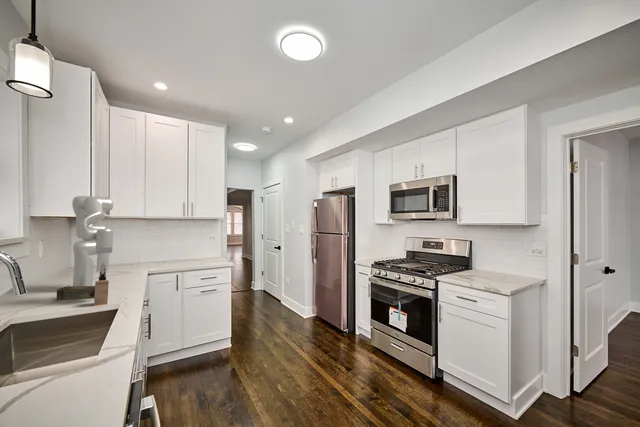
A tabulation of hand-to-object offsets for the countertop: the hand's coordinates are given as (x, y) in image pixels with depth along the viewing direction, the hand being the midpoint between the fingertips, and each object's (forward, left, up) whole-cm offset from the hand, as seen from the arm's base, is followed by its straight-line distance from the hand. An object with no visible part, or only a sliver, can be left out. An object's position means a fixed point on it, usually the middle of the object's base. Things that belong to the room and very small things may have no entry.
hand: (102, 283), depth 156 cm
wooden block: (+9, 0, -9) cm, 13 cm away
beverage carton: (-14, -10, -10) cm, 20 cm away
